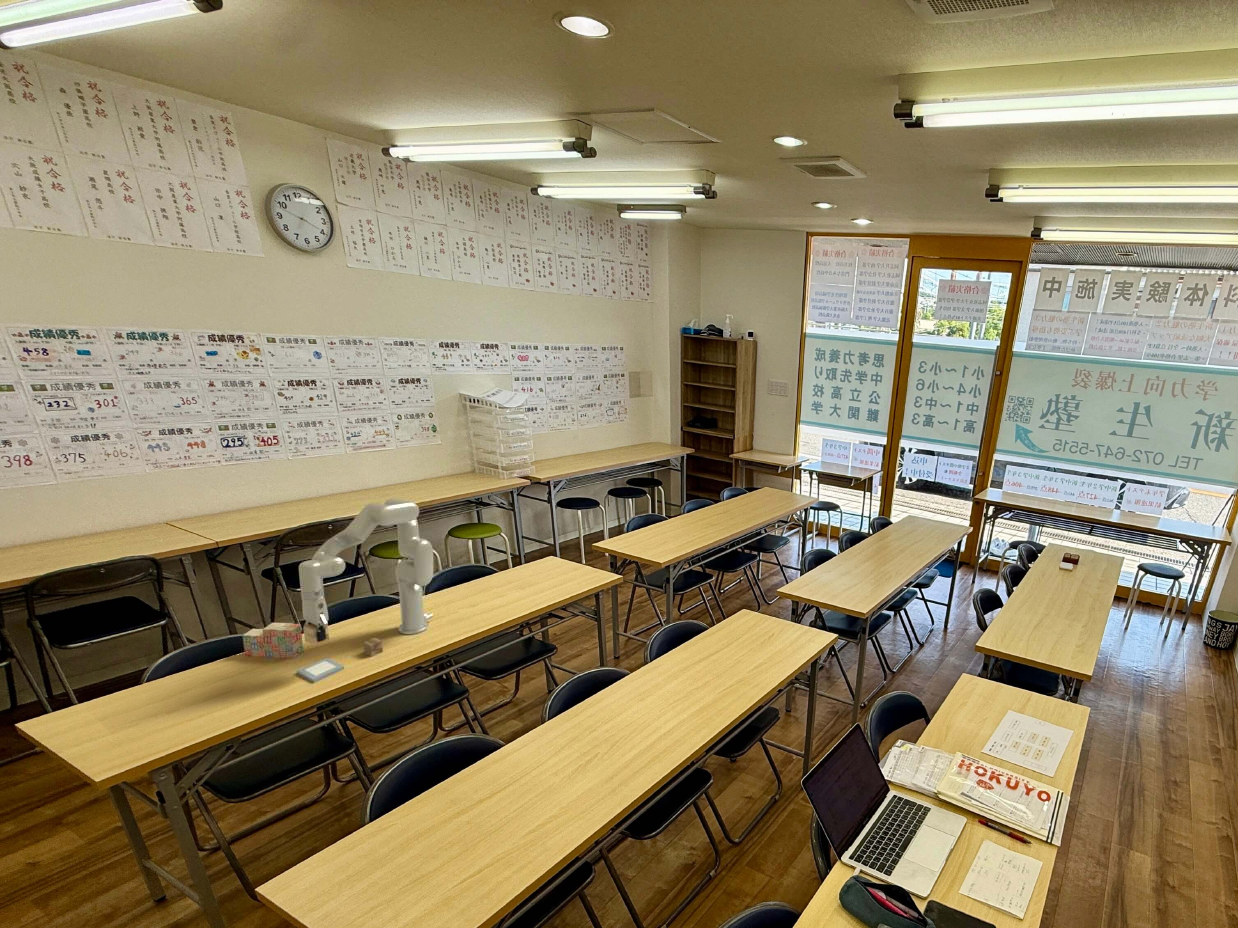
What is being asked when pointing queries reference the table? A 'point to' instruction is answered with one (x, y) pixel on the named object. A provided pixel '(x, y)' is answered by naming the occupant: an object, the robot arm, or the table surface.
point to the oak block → (313, 633)
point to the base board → (320, 670)
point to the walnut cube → (373, 647)
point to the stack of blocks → (274, 641)
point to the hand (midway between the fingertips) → (316, 637)
